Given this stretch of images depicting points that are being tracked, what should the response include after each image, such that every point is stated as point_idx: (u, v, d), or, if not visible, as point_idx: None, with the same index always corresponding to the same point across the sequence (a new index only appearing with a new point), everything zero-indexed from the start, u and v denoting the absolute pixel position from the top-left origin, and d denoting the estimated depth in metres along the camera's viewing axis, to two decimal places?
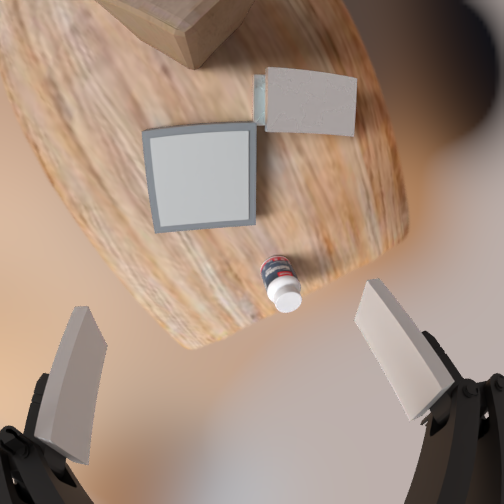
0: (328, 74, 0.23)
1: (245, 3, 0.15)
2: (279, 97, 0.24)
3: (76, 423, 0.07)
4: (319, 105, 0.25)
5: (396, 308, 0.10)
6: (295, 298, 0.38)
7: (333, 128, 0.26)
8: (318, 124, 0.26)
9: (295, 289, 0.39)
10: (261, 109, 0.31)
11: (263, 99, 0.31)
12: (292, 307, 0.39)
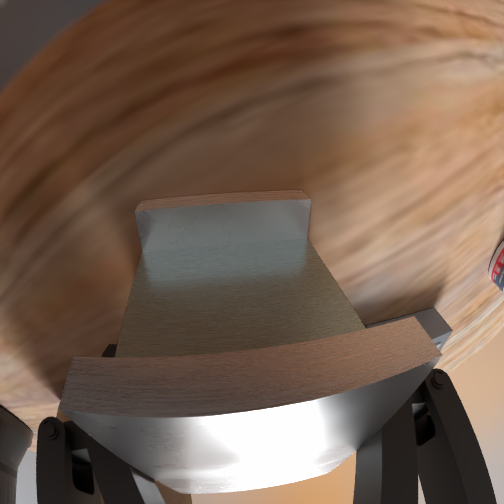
0: (135, 465, 0.05)
1: None
2: (252, 486, 0.08)
3: None
4: (272, 465, 0.06)
5: None
6: None
7: (371, 424, 0.05)
8: (340, 448, 0.06)
9: None
10: None
11: None
12: None
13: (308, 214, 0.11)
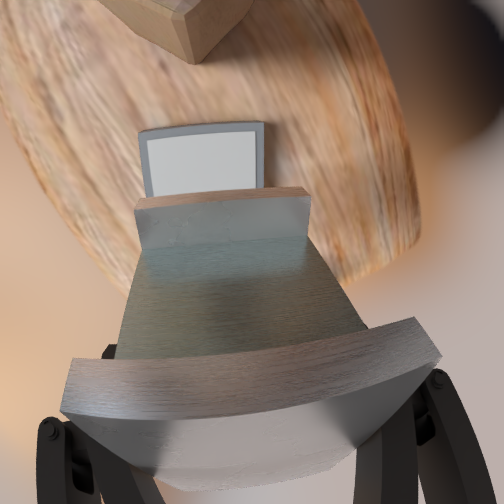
0: (136, 464, 0.05)
1: None
2: (252, 483, 0.08)
3: None
4: (272, 464, 0.06)
5: None
6: None
7: (370, 423, 0.05)
8: (340, 447, 0.06)
9: None
10: None
11: None
12: None
13: (308, 211, 0.11)
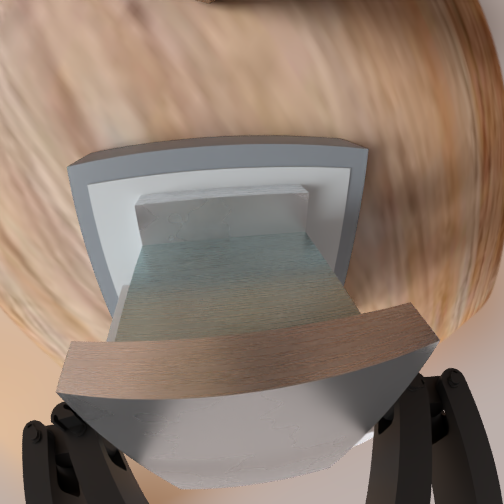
0: (132, 456, 0.05)
1: None
2: (251, 481, 0.08)
3: None
4: (270, 457, 0.06)
5: None
6: (369, 435, 0.19)
7: (370, 414, 0.05)
8: (339, 440, 0.06)
9: None
10: None
11: None
12: (361, 441, 0.20)
13: (306, 207, 0.11)
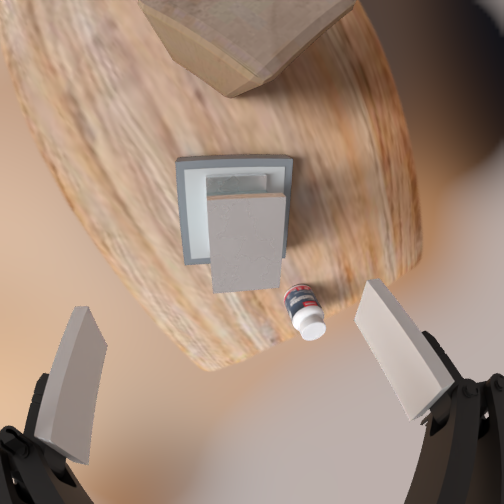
0: (210, 237, 0.25)
1: None
2: (244, 281, 0.28)
3: (76, 423, 0.07)
4: (250, 243, 0.26)
5: (396, 308, 0.10)
6: (320, 327, 0.39)
7: (276, 224, 0.25)
8: (272, 241, 0.26)
9: (320, 319, 0.39)
10: None
11: None
12: (316, 335, 0.40)
13: None
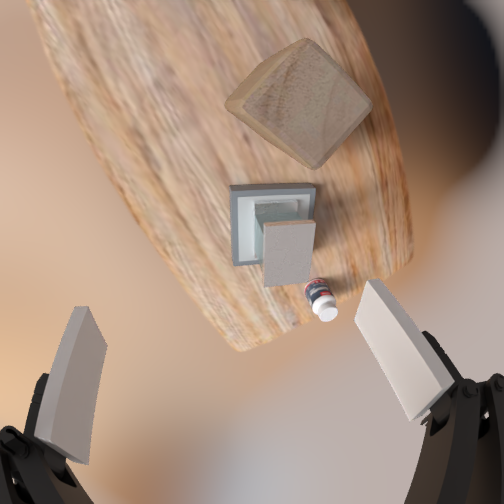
0: (266, 249, 0.37)
1: None
2: (285, 278, 0.40)
3: (76, 423, 0.07)
4: (291, 253, 0.38)
5: (396, 308, 0.10)
6: (333, 311, 0.51)
7: (309, 240, 0.37)
8: (305, 251, 0.38)
9: (333, 305, 0.52)
10: None
11: None
12: (331, 317, 0.52)
13: (297, 205, 0.43)
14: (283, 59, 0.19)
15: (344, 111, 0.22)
